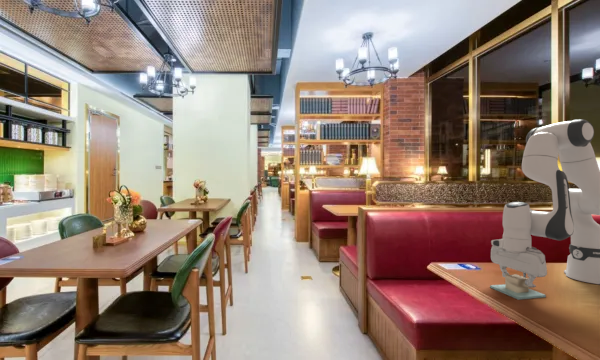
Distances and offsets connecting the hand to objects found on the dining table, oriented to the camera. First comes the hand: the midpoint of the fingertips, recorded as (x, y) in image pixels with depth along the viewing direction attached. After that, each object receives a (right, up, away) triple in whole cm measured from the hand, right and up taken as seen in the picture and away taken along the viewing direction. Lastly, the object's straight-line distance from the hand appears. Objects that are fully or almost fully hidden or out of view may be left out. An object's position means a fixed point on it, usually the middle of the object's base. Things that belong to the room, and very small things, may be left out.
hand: (516, 281), depth 110 cm
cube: (0, -3, 0) cm, 3 cm away
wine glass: (+9, -4, +8) cm, 13 cm away
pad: (0, -4, 0) cm, 4 cm away
